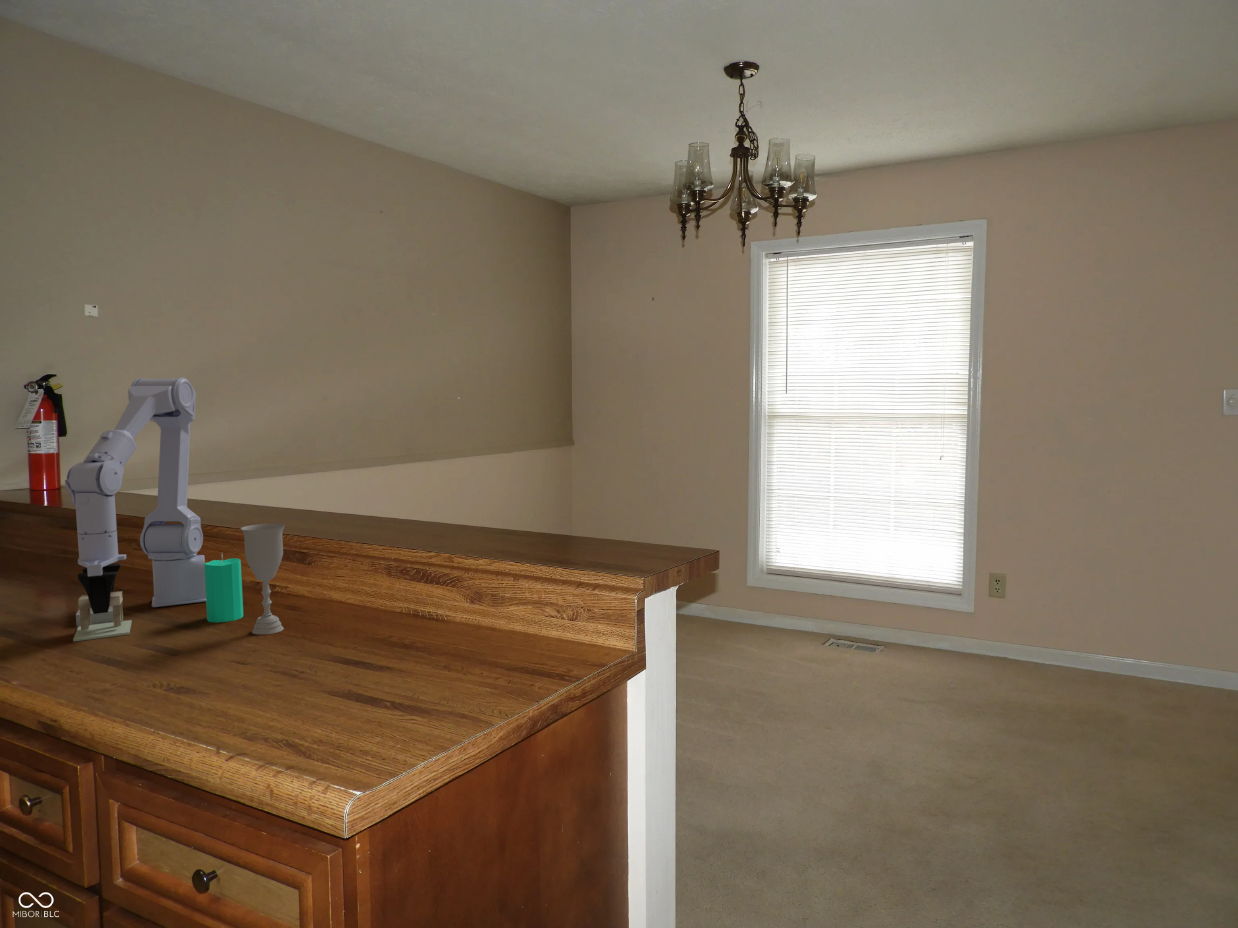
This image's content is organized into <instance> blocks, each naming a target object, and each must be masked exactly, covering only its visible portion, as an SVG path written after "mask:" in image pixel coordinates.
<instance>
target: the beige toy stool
mask: <svg viewBox="0 0 1238 928" xmlns="http://www.w3.org/2000/svg"><path fill="white" fill-rule="evenodd" d="M123 599H124V598H123V591H113V592H111V596H110V605H109V606H113V618H114V626H121V622H123V621H124V613H123V610H124V609H123V601H124V600H123ZM77 602H78V609H80V623H81V630H86V629H88V628H89V626H90V625H91V614H90V608H91V605H90V602H89V598H88V595H87V594H82V595H81V596H80V597H79V598H78V601H77Z"/></svg>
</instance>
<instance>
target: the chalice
mask: <svg viewBox="0 0 1238 928" xmlns="http://www.w3.org/2000/svg"><path fill="white" fill-rule="evenodd" d="M285 527H286V524H283V523H259V524H252V525H251V524H250V525H245V526H243V527H240V530H241V532H242V533H243V536H244V537H243V539H244V540H243V541H244V555H245V556H244V557H245V559H246V562H247V564H248V566H249V567H248V568H250V570H251V572H252V574H253V575H254V577H255V579H256V580H257V581H261V582H262V590H261V594H262V596H263V599H262V601H261V602H260V603H261V605H262V607H263V609H264V610H263V614H261V615H262V616H259V617H258V618H257V619H256V621H255V624H254V625H253V627H254V628H253V630H252V631H251V632H252V634H254V635H271V634H276V633H279V632H282V631H283V630H284V627H283V625H282V622H281V621H280V618H279V617H278V616H277V615H275V614H274V615H273V613H272V612H271V604H273V601H272V600H271V599H270V594H271V592H272V590H271V589H270V585H269V584H270V580H272V579H274V578H275V577H276V574H277V572H278V570H279V567H280V565H281V563H282V559H283V555H284V543H283V532H284V529H285Z"/></svg>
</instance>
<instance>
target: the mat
mask: <svg viewBox="0 0 1238 928" xmlns="http://www.w3.org/2000/svg"><path fill="white" fill-rule="evenodd" d="M132 623H133V622H132V619H130V620H123V622H121V626H114V622H109V623H100V624H92V625H90V626H89V628H88V629H86V630H81V626H77V629H76V632H75V634H74V636H73V639H72V641H73V642H81V641H89V640H97V639H106V638H112V637H121V636H128V635H130V633H131V627H132Z"/></svg>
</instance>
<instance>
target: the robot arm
mask: <svg viewBox="0 0 1238 928" xmlns="http://www.w3.org/2000/svg"><path fill="white" fill-rule="evenodd" d="M196 393H197V392H196V391H195V389H194V387H193V385H192V384H191V382H190V381H189V380H188V379H187V378H185V377H177V378H176V377H175V378H173V377H172V378H143V377H142V378H141V377H139V378H135V379H134V380H133V382H132V383H131V385H130V387H129V388H128V389H127V397H128V399H127V400H128V404H127V405H126V407H125V409H124V411H123V413H122V414H121V416H120V418H119V420H118V422H117V423H116V426H115V428H114V429H109V430H106V431H103V432H102V433H101V434H100V436H99V438H98V439H97V441H96V443H94V446H93V447H92V448H91V449H90V451H89V452H88V454H87V455H86V456H85V458H84V459H83V461H82V462H81V461H80V462H77V463H75V464H74V465H72V466H71V467H70V468H69V469H68V471H67V474H66V478H65V479H64V484H65V487H66V490H67V491H68V493H69V495H70V498H71V499H70V501H71V503H72V505H73V506H74V507H75V514H76V515H75V516H76V529H77V531H76V532H77V543H78V544H77V546H78V548H77V549H78V559H77V564H78V565H80V566H81V567H84V568H82V572H78V574H77V579H78V581H79V582H80V584H81V585H82V587H83V588H84V590H85V592H86V595H88V598H89V602H90V605H91V609H92V611H93V613H94V614H98V613H107V612H108V610H109V607H110V606H109V605H110V596H111V592H114V589H115V588H114V587H115V582H116V578H117V575H118V572H119V571H120V568H121V566H122V564H121V563H120V562H119V561H124V560H126V559H127V554H119V545H118V543H119V542H118V529H117V527H118V526H117V514H116V513H117V512H116V510H117V509H116V498H115V497H116V496H115V494H116V493H118V491H120V490H121V488H122V485H123V476H124V474H125V466H126V465H127V464H128V462H129V460H130V459H131V457H132V456H133V454H134V452H135V451H136V449H137V443H136V441H135V438H136V437H137V436H138V435H139V433H140V432H141V431H142V430H143V429H144V428H145V426H146V425H147V423H148V422H149V421H150V422H153V423H156V424H157V426H158V427H159V429H160V438H159V439H160V443H159V464H158V481H157V482H158V484H157V499H156V501H157V503H156V504H157V505H156V507H155V509H154V510H152V511H151V512H150V513H149V514H147V515H146V516H145V518H144V524H143V528H142V531H141V533H140V536H139V537H140V538H139V543H140V548H141V549H142V551H143V553H145V555H147V557H148V560H151V562H152V563H151V564H152V577H153V579H152V582H153V596H152V599H151V600H152V602H151V607H152V608H160V607H168V606H177V605H184V604H185V605H186V604H193V603H194V604H195V603H203V602H206V591H205V572H204V563H206V562H205V561H206V560H205V558H206V557H205V555H204V554H198V552H200V549H201V548H202V546H203V542H204V534H203V530H202V525H201V524H202V522H201V519H202V518H201V517H200V516H198V514H196V513H195V512H193V511H192V510H191V509H189V507H188V490H189V471H190V470H189V468H190V467H189V466H190V447H191V446H190V444H191V442H190V441H191V423H192V422H195V415H196V398H197V394H196ZM168 522H180V523H168ZM116 562H117V563H116Z"/></svg>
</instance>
